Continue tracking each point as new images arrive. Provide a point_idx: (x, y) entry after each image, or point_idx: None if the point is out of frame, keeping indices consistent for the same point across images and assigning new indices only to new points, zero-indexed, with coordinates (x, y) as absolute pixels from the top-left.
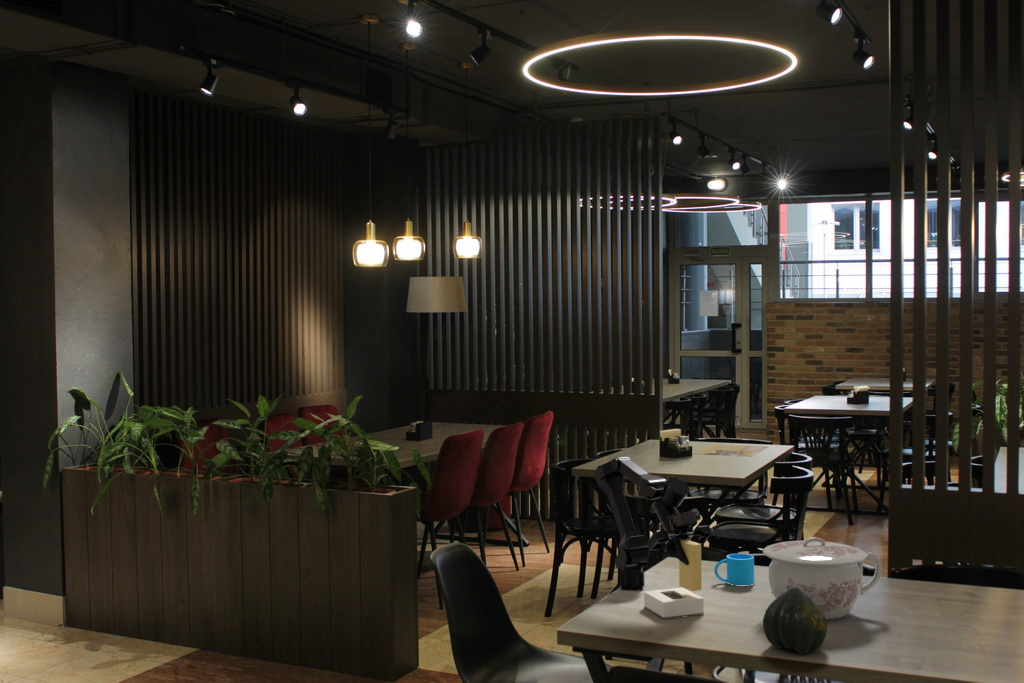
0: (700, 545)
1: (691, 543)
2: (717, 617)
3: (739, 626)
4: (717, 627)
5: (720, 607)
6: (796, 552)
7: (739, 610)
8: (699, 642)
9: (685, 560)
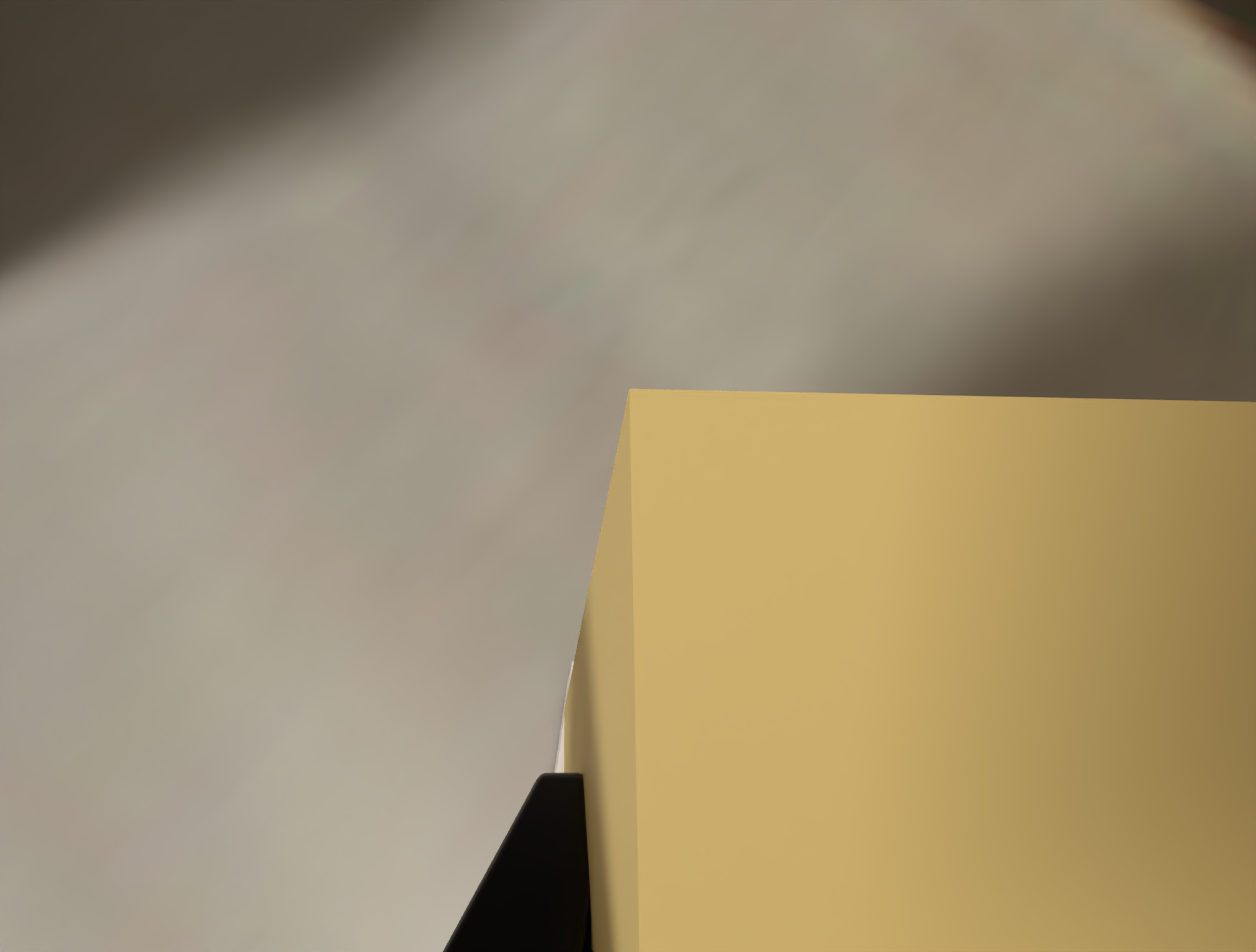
0: (668, 421)
1: (1086, 869)
2: (496, 527)
3: (508, 195)
4: (712, 270)
5: (167, 858)
6: None
7: (74, 624)
8: (1079, 56)
9: None
